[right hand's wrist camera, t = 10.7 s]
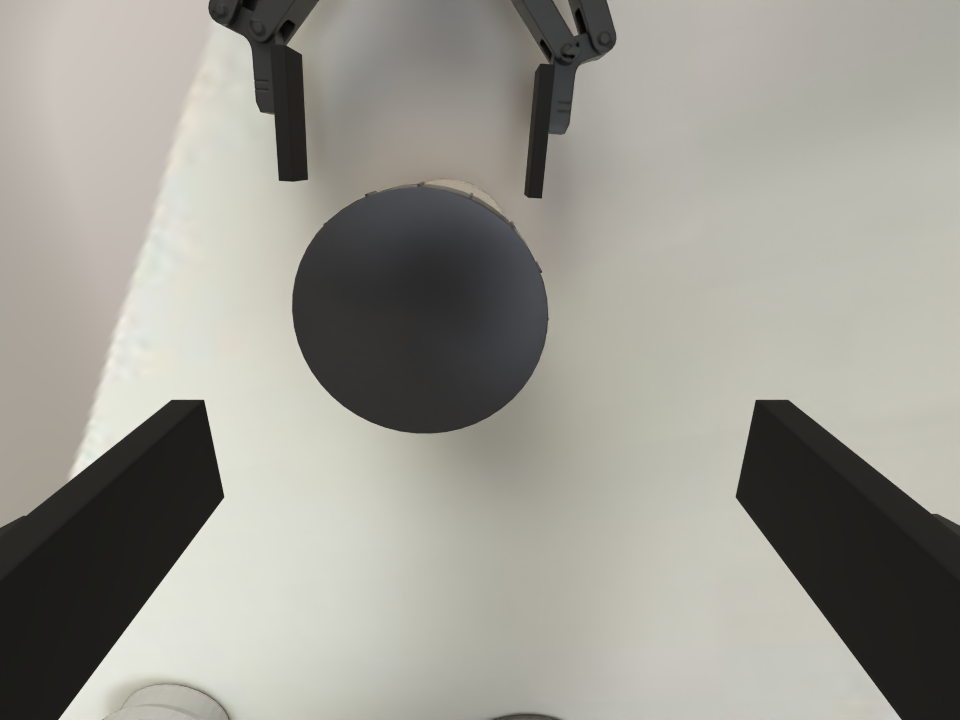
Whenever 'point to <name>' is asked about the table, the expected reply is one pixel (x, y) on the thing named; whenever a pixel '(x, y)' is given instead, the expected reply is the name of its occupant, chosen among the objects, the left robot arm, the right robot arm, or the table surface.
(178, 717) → the flag stand
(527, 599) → the table surface
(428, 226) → the lid
